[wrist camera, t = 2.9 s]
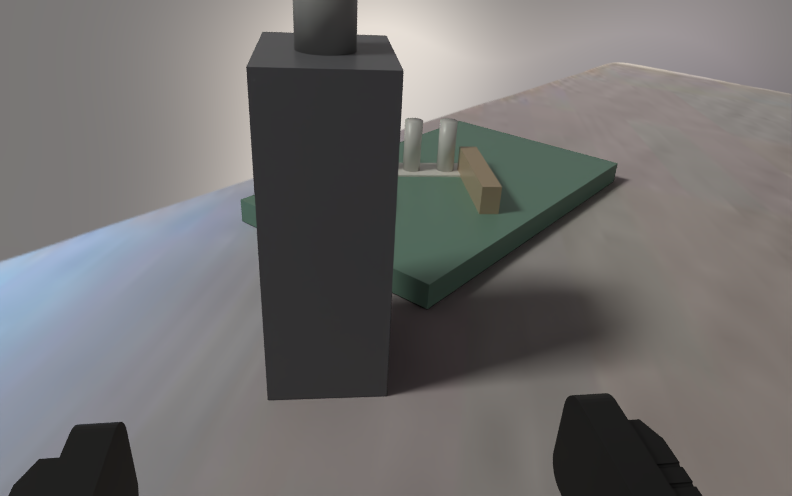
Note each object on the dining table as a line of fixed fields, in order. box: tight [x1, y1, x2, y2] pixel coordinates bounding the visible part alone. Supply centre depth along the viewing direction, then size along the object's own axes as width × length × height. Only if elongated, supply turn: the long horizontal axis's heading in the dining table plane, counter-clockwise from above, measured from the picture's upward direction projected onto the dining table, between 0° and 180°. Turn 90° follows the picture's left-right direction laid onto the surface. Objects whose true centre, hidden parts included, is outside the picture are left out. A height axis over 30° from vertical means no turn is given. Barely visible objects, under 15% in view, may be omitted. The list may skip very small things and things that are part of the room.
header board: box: [241, 118, 618, 309], centre depth 36 cm, size 20×12×4 cm, turn 141°
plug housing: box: [246, 0, 403, 400], centre depth 20 cm, size 4×5×13 cm
